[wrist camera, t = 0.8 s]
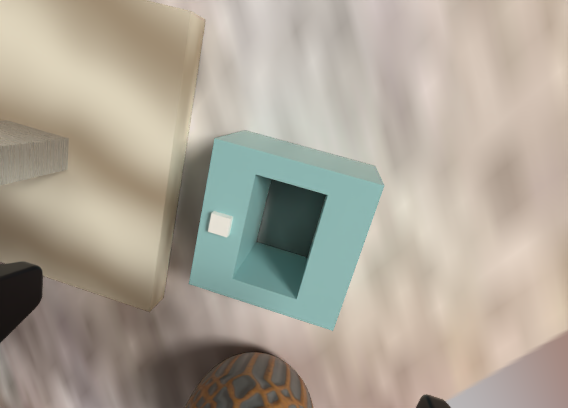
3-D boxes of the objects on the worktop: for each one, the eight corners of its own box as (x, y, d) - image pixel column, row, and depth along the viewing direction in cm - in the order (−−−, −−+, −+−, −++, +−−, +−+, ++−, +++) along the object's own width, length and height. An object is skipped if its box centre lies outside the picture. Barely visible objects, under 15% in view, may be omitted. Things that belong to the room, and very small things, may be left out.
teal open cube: (335, 282, 18) (332, 335, 14) (221, 246, 18) (185, 287, 14) (375, 165, 16) (385, 187, 12) (245, 130, 16) (211, 139, 12)
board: (163, 297, 20) (149, 312, 19) (-42, 229, 21) (-70, 238, 20) (205, 19, 15) (191, 11, 14) (-62, -46, 17) (-100, -60, 15)
